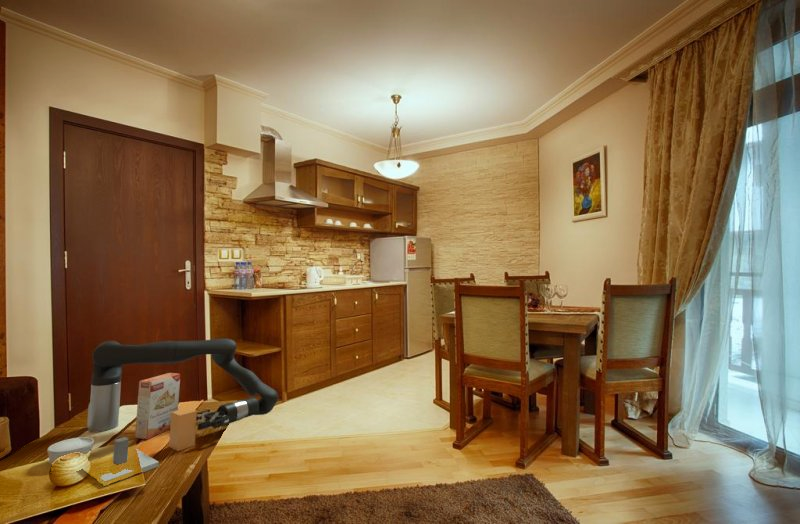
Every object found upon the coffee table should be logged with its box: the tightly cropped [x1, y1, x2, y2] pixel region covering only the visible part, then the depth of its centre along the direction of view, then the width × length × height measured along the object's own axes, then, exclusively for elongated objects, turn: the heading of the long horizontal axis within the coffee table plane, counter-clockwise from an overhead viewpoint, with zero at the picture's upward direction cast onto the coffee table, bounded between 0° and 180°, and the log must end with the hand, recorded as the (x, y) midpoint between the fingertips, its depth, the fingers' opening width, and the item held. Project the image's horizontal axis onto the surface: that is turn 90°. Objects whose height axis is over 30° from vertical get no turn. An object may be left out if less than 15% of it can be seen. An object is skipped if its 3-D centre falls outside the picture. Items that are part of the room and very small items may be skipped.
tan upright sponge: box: [168, 407, 198, 452], centre depth 131 cm, size 6×6×12 cm
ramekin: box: [46, 436, 95, 465], centre depth 119 cm, size 11×11×5 cm
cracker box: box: [134, 372, 181, 440], centre depth 143 cm, size 14×6×21 cm, turn 168°
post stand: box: [100, 436, 160, 482], centre depth 115 cm, size 18×14×8 cm
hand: (191, 424), depth 134 cm, fingers open, 8 cm apart
